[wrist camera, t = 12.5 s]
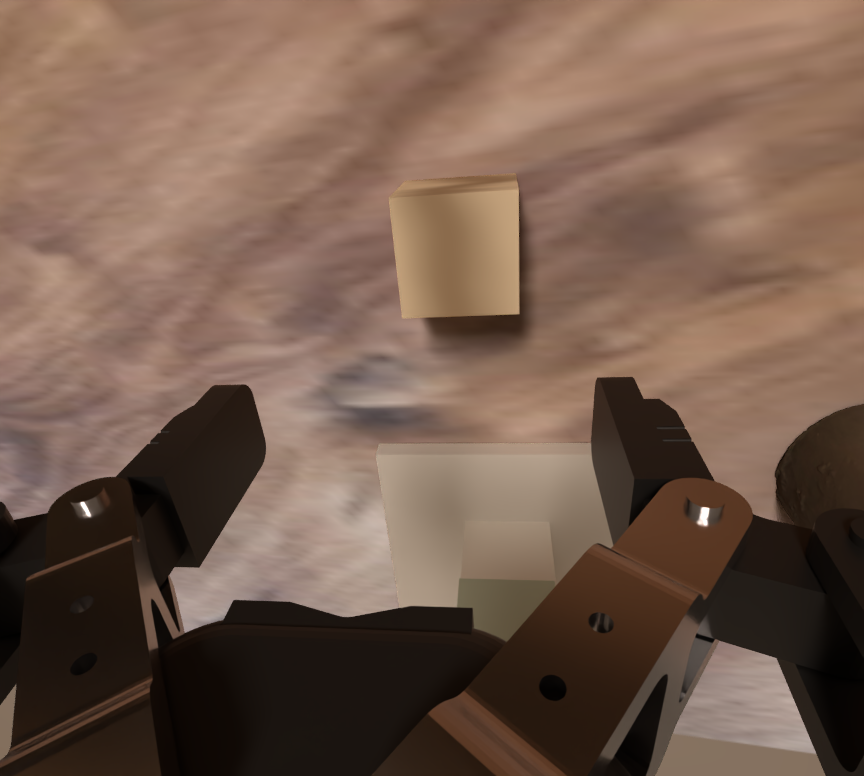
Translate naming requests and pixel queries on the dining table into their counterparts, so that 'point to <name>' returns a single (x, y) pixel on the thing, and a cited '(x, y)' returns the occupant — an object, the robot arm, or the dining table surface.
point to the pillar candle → (824, 468)
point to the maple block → (457, 246)
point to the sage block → (501, 602)
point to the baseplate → (482, 506)
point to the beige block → (507, 551)
